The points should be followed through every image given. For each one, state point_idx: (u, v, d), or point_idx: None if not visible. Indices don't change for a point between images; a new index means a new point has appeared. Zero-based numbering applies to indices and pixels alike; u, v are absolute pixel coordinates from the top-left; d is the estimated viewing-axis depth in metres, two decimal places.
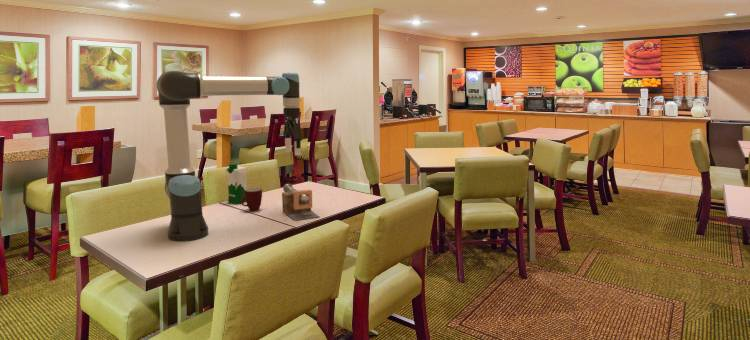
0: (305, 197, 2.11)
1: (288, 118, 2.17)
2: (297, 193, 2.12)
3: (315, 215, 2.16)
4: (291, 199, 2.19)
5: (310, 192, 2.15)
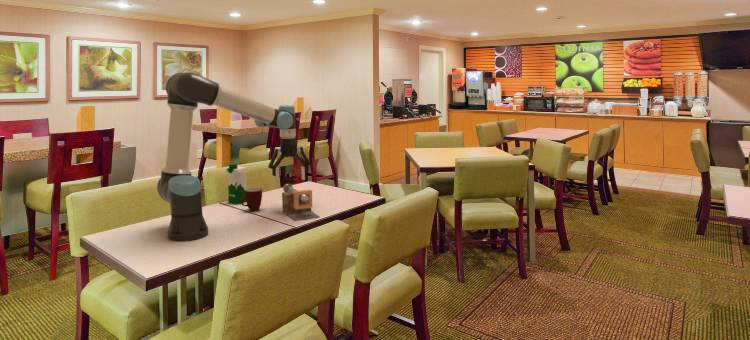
0: (305, 197, 2.11)
1: None
2: (297, 193, 2.12)
3: (315, 215, 2.16)
4: (291, 199, 2.19)
5: (310, 192, 2.15)
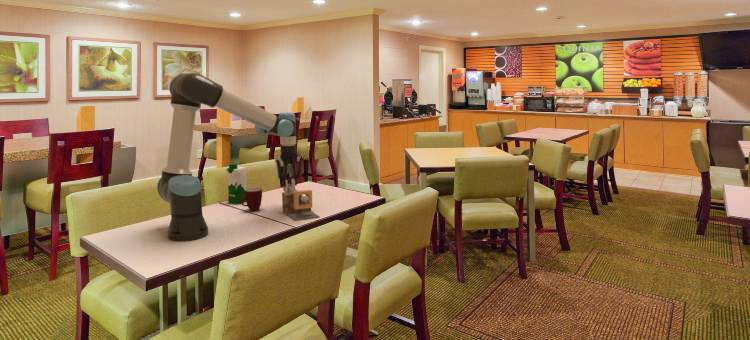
0: (305, 197, 2.11)
1: None
2: (297, 193, 2.12)
3: (315, 215, 2.16)
4: (291, 199, 2.19)
5: (310, 192, 2.15)
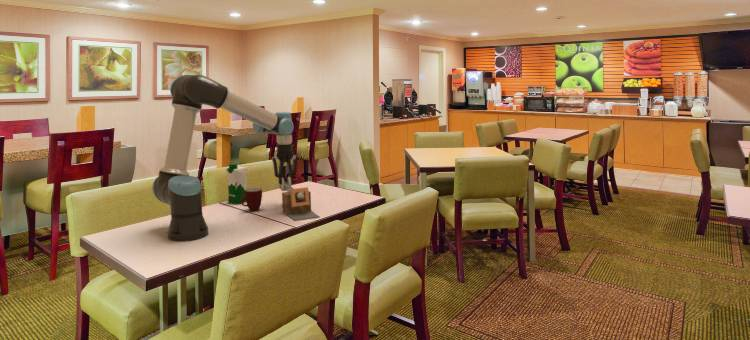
0: (300, 194, 2.16)
1: None
2: (293, 190, 2.16)
3: (315, 215, 2.16)
4: None
5: (306, 189, 2.19)
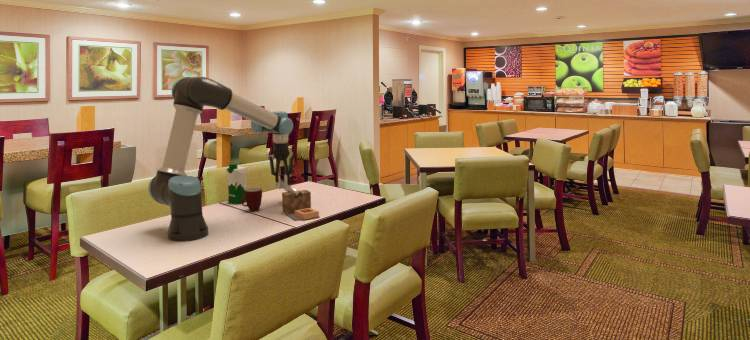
0: (296, 192, 2.21)
1: None
2: None
3: None
4: (291, 199, 2.19)
5: None
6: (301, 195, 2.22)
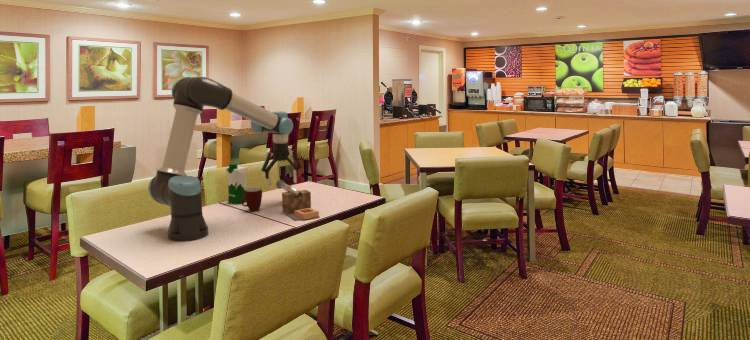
0: (296, 192, 2.21)
1: None
2: None
3: None
4: (291, 199, 2.19)
5: None
6: (301, 195, 2.22)
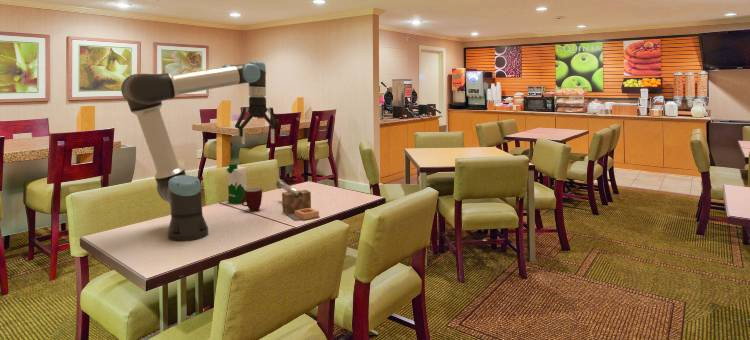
0: (296, 192, 2.21)
1: None
2: None
3: None
4: (291, 199, 2.19)
5: None
6: (301, 195, 2.22)
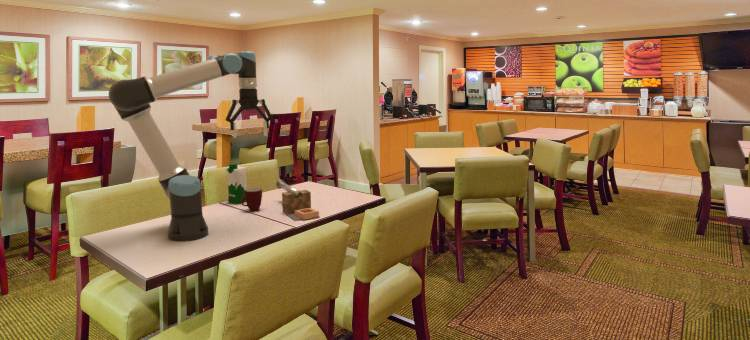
0: (296, 192, 2.21)
1: None
2: None
3: None
4: (291, 199, 2.19)
5: None
6: (301, 195, 2.22)
